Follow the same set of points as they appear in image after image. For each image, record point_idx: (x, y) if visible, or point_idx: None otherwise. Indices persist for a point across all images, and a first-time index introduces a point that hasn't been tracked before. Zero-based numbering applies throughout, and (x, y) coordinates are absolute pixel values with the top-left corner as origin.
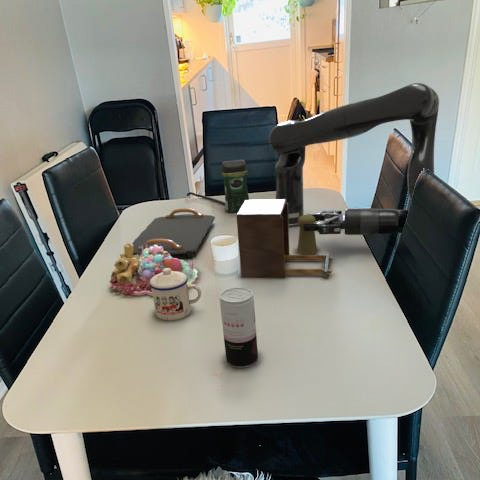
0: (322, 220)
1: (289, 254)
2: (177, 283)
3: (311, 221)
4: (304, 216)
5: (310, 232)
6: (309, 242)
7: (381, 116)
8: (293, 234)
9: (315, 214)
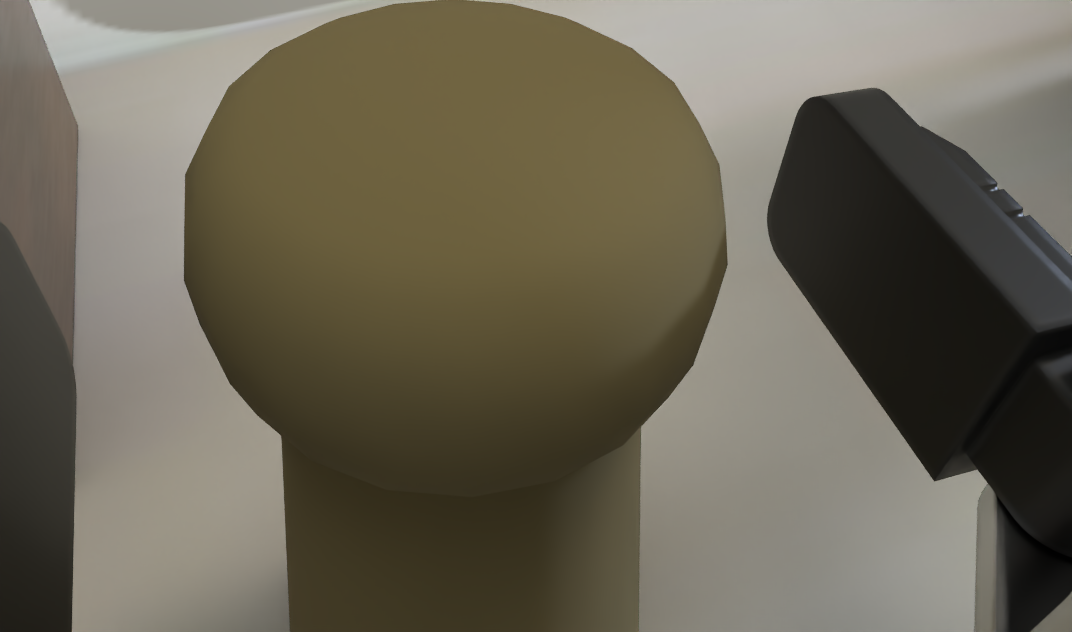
0: (999, 573)
1: None
2: None
3: (259, 338)
4: (373, 51)
5: (328, 518)
6: (309, 622)
7: None
8: None
9: (963, 255)
